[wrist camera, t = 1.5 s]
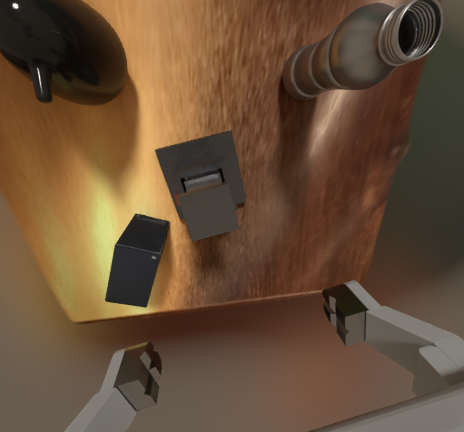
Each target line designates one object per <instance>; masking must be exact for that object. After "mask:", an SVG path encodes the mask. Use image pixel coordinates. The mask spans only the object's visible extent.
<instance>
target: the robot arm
mask: <svg viewBox="0 0 464 432" xmlns="http://www.w3.org/2000/svg"><path fill="white" fill-rule="evenodd" d="M322 296H323V298H324V299H325V301H324V302H323V308H324V311H325V314H326V316H327V318H328V320H329V321H330V323H331V324H332V325H334V326H336V327H337V334H338V335H339V337H340V338H341V340H342V341H343V343H344V344H345V346H349V345H353V344H356V343H360V342H364V341H365V342H366V343H367V344H369V345H370V346H372V347H373V348H375V349H377V350H378V351H380V352H381V353H383V354H384V355H386V356H387V357H389V358H391V359H392V360H393V361H395V362H397V363H398V364H400V365H401V366H403V367H404V368H406V369H407V370H409V371H411V372H412V373H413V374H414V380H413V386H412V391H413V393H414V394H415V395H416V396H417V397H415V398H412V399H409V400H406V401H402V402H399V403H396V404H393V405H390V406H387V407H384V408H380V409H377V410H374V411H371V412H368V413H365V414H361V415H358V416H355V417H352V418H349V419H346V420H343V421H340V422H336V423H333V424H330V425H327V426H324V427H321V428H318V429H315V430H311V431H308V432H464V341H463V340H462V339H461V338H460V337H458V336H457V335H455V334H452V333H450V332H447V331H445V330H443V329H440V328H438V327H435V326H433V325H430V324H428V323H426V322H423V321H421V320H418V319H416V318H413V317H411V316H408V315H406V314H404V313H401V312H399V311H396V310H394V309H391V308H389V307H386V306H383V307H381V306H380V305H379V304H378V303H377V302H376V301H375V300H374V299H373V298H372V297H371V296H370V295H369V294H368V293H367V292H366V291H365V290H364V289H363V288H362V287H361V286H360V285H359V284H358V283H357V282H356V281H354V280H353V281H350V282H347V283H343V284H340V285H336V286H333V287H330V288H327V289H324V290H322ZM153 349H154V346H153V344H152V343H151V342H147V343H143V344H139V345H136V346H132V347H129V348H125V349H121V350H118V351H116V352H115V353H114V354H113V357H112V360H111V363H110V365H109V368H108V370H107V373H106V376H105V379H104V381H103V384H102V387H101V389H100V392H99V393H96V394H95V395H94V396H93V398H92V399H91V400H90V401H89V402H88V404H87V405H86V406H85V407H84V409H83V410H82V411H81V412H80V413H79V415H78V416H77V417H76V418H75V419H74V421H73V422H72V423H71V424H70V425H69V427H68V428H67V429H66V430H65V432H126V431H127V429H128V428H129V426H130V424H131V422H132V420H133V419H134V417H135V415H136V413H137V412H136V411H139V410H142V409H145V408H148V407H151V406H154V405H156V404H157V398H158V391H159V386H158V384H157V381H158V379H159V377H160V376H161V370H162V365H161V358H160V356H159V354H158V352H155V351H153Z"/></svg>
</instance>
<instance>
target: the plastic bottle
mask: <svg viewBox="0 0 464 432" xmlns="http://www.w3.org/2000/svg"><path fill="white" fill-rule="evenodd" d="M442 27H443V11H442V7H441V5H440V3H439V2H438V1H437V0H413V1H411V2H409V3H405V4H402V5H400V6H398V7H396V8H394V7H392V6H390V5H387V4H384V3H374V4H369V5H365V6H362V7H360V8H358V9H356V10H355V11H354V12H352V13H351V14H350V15H349V16H347V17H346V18H345V19H344V20H343V21H342V22H341V23H340V24H339V25H338V26H337V27H336V28H335V29H334V30H333V31H332V32H331V33H330V34H329V35H328V36H326V37H325V38H324V39H322V40H321V41H319V42H317V43H315V44H310V45H306V46H303V47H301V48H299V49H297V50H296V51H295V52H293V54H292V55H291V56H290V57H289V59H288V60H287V62H286V64H285V66H284V69H283V84H284V87H285V89H286V91H287V92H288V93H289V95H291V96H292V97H294V98H296V99H300V100H309V99H312V98H314V97H316V96H318V95H320V94H321V93H324V92H326V91H329V90H337V89H344V90H363V89H367V88H370V87H372V86H374V85H376V84H378V83H379V82H381V81H382V80H383V79H385V78H386V77H387V76H388V75H389V74H390V73H391V72H392V71H393V70H394V68H395V67H396V66H400V65H404V64H406V63H408V62H410V61H415V60H418V59H420V58H422V57H424V56H425V55H427V54H428V53H429V52H430V51H431V50H432V49H433V47H434V46H435V45H436V43H437V41H438V39H439V37H440V34H441V31H442Z"/></svg>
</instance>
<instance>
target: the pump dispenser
mask: <svg viewBox="0 0 464 432" xmlns="http://www.w3.org/2000/svg"><path fill="white" fill-rule="evenodd" d="M0 54H1V55H2V56H3V57H4V58H5V59H6V60H7V61H8V62H9V63H10V64H11V65H12V66H13V67H14V68H15V69H16V70H18V71H19V72H20V73H21V74H23V75H24V76H25V77H26V78H28V79H29V80H30V81H32V82H33V85H34V89H35V94H36V98H37V99H38V100H39V101H40V102H43V103H51V102H52V101H53V95H55V96H57V97H59V98H62V99H64V100H67V101H69V102H72V103H75V104H80V105H86V106H98V105H103V104H106V103H108V102H110V101H112V100H113V99H114V98H116V97H117V96H118V95H119V93H120V92H121V90H122V89H123V87H124V84H125V82H126V77H127V59H126V54H125V51H124V48H123V45H122V43H121V41H120V39H119V37H118V35H117V33H116V32H115V30H114V29H113V28H112V26H111V25H110V24H109V23H108V22H107V20H106V19H105V18H104V17H103V16H102V15H101V14H99V13H98V12H97V11H96V10H95V9H94V8H92V7H91V6H89V5H88V4H87V3H85V2H84V1H82V0H0ZM52 94H53V95H52Z"/></svg>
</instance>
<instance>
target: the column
mask: <svg viewBox="0 0 464 432" xmlns="http://www.w3.org/2000/svg"><path fill="white" fill-rule="evenodd" d="M184 184H185V187H186V193H182V194H179V195H177V199H178V201H179V204H180V207H181V210H182V213H183V215H184V218H185V221H186V224H187V227H188V230H189V232H190V235H191V238H192V241H197V240H200V239H204V238H208V237H211V236H215V235H218V234H222V233H226V232H229V231H233V230H237V229H239V225H238V221H237V217H236V213H235V208H234V204H233V200H232V196H231V192H230V187H229V184H228V182H224V183H222V180H221V176H220V172H219V171H218V169H216V170H212V171H208V172H204V173H200V174H197V175H193V176H189V177H185V181H184Z"/></svg>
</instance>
